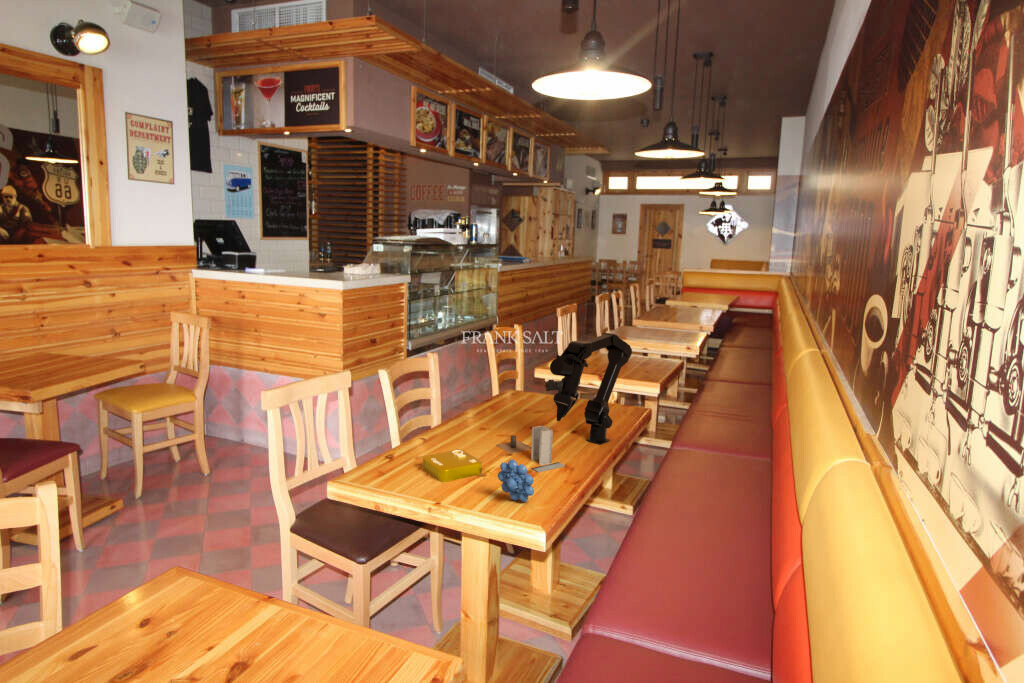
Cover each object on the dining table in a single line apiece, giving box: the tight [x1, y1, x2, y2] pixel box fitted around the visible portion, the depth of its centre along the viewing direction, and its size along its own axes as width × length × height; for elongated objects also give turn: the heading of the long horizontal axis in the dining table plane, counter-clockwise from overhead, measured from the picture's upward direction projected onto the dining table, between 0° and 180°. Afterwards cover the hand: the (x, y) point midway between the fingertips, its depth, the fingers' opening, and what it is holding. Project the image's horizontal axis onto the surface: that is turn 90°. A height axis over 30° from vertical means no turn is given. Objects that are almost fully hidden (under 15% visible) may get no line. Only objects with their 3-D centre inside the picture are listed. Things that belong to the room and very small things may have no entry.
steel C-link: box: [530, 425, 554, 467], centre depth 203 cm, size 4×6×12 cm
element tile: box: [422, 449, 483, 483], centre depth 196 cm, size 15×15×5 cm
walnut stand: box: [495, 435, 532, 454], centre depth 218 cm, size 10×10×5 cm
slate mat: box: [530, 461, 565, 473], centre depth 204 cm, size 11×11×1 cm
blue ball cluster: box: [497, 459, 535, 503], centre depth 173 cm, size 12×7×12 cm, turn 62°
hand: (560, 419), depth 216 cm, fingers open, 9 cm apart
